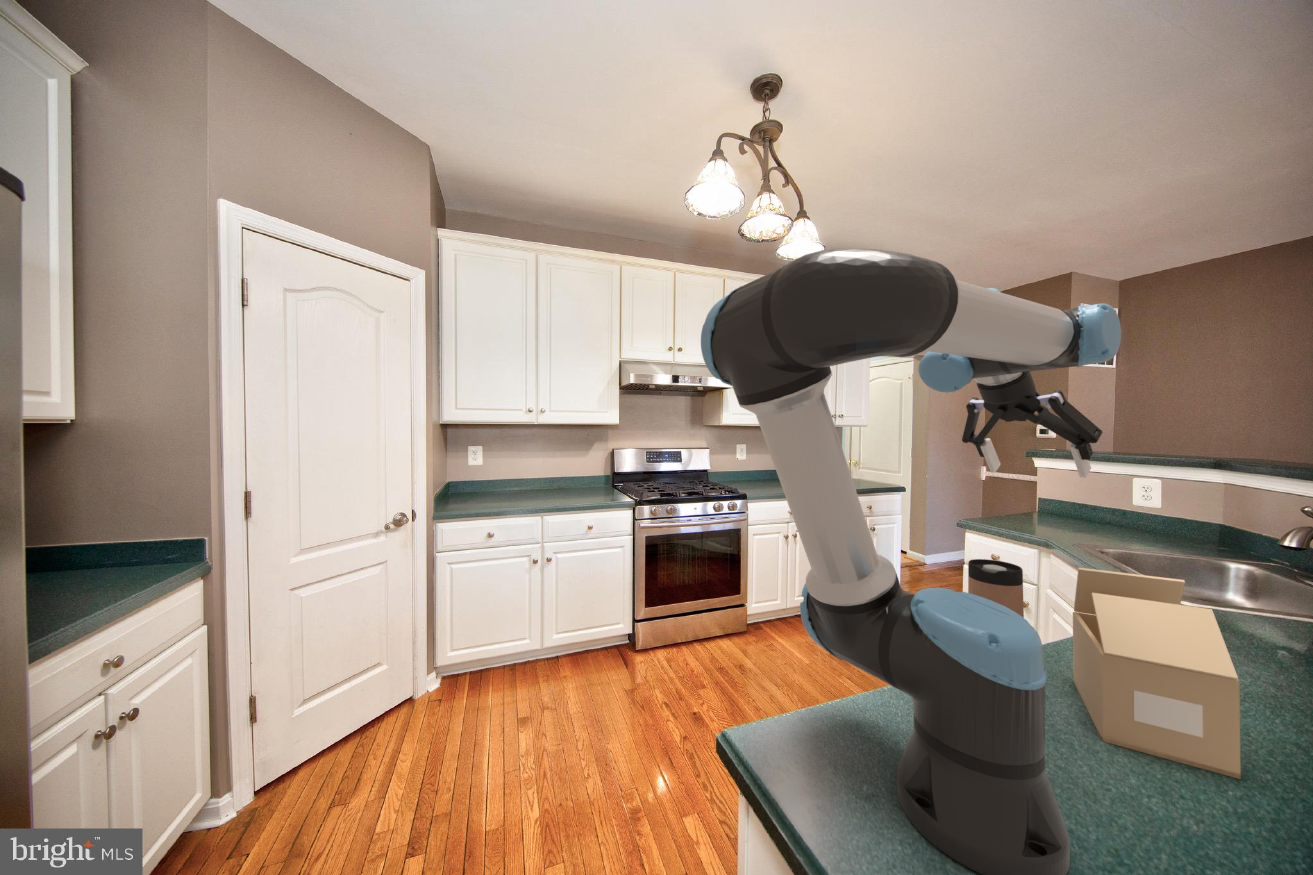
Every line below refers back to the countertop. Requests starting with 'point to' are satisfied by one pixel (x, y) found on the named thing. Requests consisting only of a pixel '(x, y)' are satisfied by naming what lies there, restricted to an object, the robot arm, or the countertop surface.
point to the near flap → (1162, 634)
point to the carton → (1157, 705)
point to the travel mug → (997, 583)
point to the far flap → (1124, 588)
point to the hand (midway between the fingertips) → (1037, 470)
